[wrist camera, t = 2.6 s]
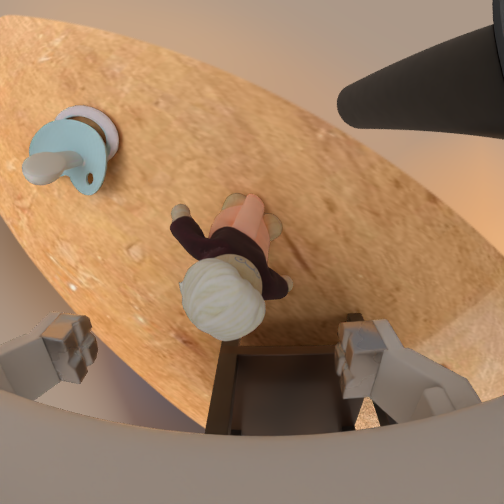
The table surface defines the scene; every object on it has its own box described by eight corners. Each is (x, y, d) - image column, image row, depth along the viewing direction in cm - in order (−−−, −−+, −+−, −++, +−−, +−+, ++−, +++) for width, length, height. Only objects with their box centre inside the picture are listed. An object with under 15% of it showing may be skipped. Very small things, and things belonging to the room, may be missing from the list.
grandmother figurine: (304, 215, 22) (348, 316, 10) (280, 261, 23) (293, 390, 11) (203, 169, 21) (128, 220, 9) (183, 218, 22) (104, 314, 10)
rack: (361, 312, 25) (415, 439, 12) (343, 395, 28) (367, 507, 16) (226, 314, 25) (201, 452, 13) (232, 397, 29) (219, 514, 17)
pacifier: (63, 96, 19) (41, 165, 21) (13, 90, 13) (-10, 178, 15) (137, 123, 20) (109, 198, 22) (95, 120, 14) (64, 219, 16)
